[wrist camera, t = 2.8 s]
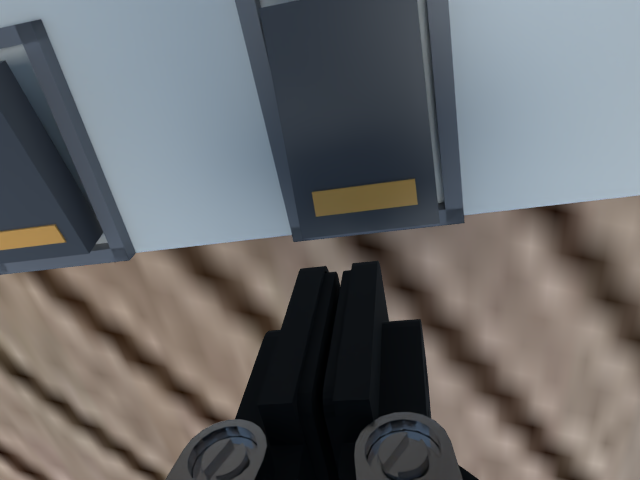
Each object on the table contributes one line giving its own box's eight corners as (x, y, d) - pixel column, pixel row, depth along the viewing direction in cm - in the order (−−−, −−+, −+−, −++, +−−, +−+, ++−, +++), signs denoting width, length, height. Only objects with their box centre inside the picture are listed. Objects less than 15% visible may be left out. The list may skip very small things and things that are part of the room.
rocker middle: (270, 12, 16) (258, 8, 15) (413, -17, 15) (414, -24, 14) (309, 226, 18) (301, 239, 17) (437, 211, 17) (440, 224, 16)
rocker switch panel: (-346, -30, 22) (-507, -26, 18) (1125, -457, 13) (1464, -646, 9) (-150, 252, 29) (-238, 301, 25) (929, 112, 19) (1071, 155, 15)
